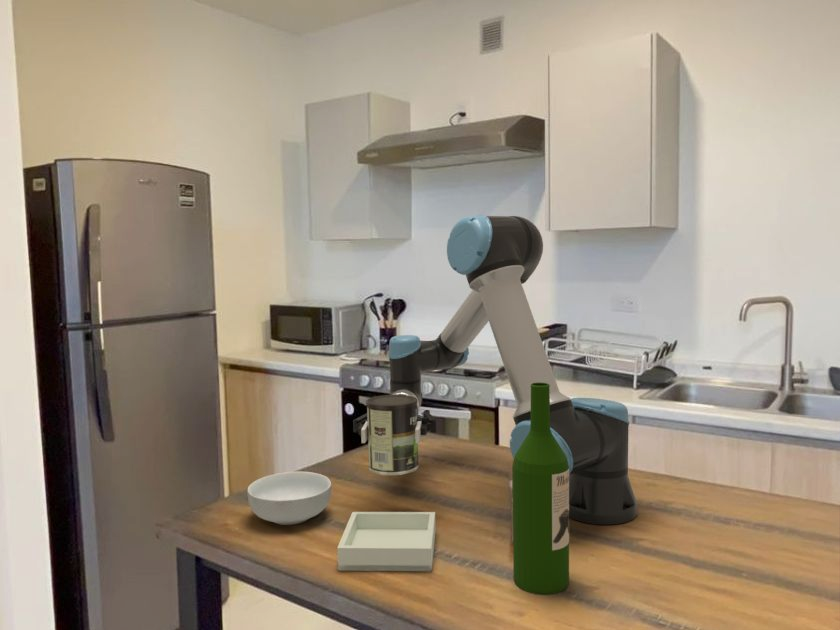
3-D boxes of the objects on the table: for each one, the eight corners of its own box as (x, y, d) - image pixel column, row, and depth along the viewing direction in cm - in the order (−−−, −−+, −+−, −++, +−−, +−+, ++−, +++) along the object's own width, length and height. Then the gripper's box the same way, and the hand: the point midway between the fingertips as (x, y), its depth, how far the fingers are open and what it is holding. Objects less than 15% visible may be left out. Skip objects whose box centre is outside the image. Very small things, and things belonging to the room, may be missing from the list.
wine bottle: (556, 600, 104) (556, 392, 101) (504, 585, 109) (502, 386, 106) (577, 576, 112) (577, 381, 109) (527, 563, 117) (525, 377, 114)
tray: (435, 532, 131) (435, 512, 130) (431, 571, 115) (431, 548, 114) (353, 531, 132) (352, 511, 131) (338, 570, 116) (337, 547, 115)
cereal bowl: (231, 528, 135) (230, 494, 134) (277, 499, 150) (275, 468, 150) (307, 539, 129) (305, 503, 128) (346, 507, 144) (345, 475, 144)
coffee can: (419, 459, 143) (418, 393, 142) (417, 475, 133) (416, 405, 131) (371, 460, 143) (369, 394, 142) (365, 476, 133) (363, 405, 132)
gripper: (451, 425, 155) (448, 455, 133) (353, 425, 156) (334, 454, 134) (450, 393, 154) (447, 417, 132) (352, 393, 156) (332, 417, 134)
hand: (390, 436), depth 133 cm, fingers closed on coffee can, 10 cm apart
